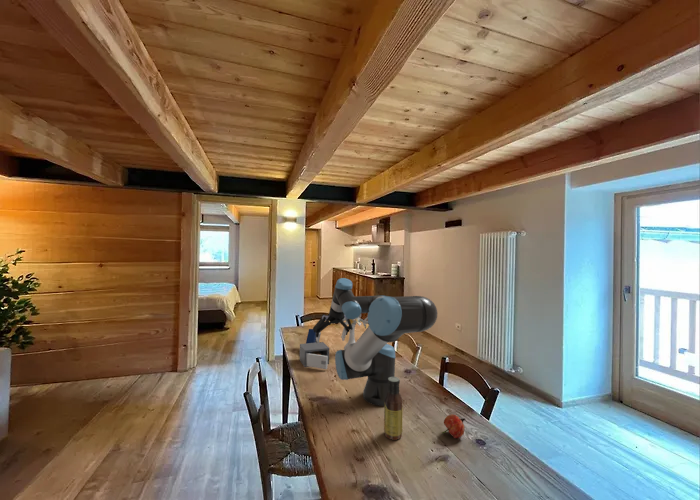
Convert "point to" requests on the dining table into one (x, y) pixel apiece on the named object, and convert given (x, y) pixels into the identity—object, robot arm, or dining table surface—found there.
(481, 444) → the dining table surface
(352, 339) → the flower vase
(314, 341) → the blue block
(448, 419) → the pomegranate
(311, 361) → the door
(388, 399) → the sauce bottle
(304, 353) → the block
